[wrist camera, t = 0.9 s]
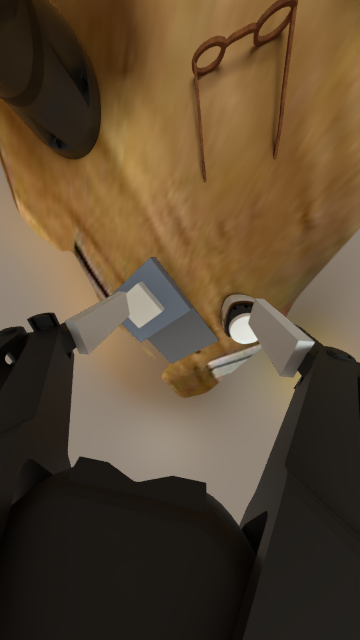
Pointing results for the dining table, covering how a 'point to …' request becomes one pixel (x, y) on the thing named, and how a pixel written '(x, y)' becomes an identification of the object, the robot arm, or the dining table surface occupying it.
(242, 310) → the spread jar
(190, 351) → the mat
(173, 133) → the dining table surface
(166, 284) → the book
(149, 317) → the coaster
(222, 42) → the glasses
